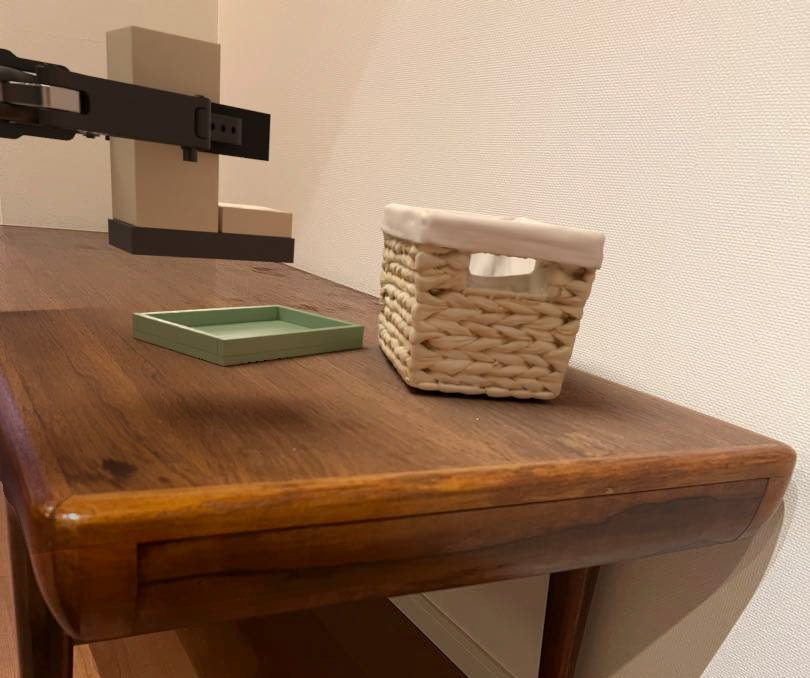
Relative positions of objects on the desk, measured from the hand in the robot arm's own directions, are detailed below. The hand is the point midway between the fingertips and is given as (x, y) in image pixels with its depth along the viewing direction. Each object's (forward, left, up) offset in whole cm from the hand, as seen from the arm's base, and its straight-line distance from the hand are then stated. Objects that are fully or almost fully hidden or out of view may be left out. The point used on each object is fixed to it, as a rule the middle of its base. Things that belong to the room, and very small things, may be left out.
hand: (226, 133), depth 52 cm
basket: (+5, +27, -18) cm, 33 cm away
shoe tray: (-14, +17, -18) cm, 28 cm away
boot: (+1, -3, -7) cm, 8 cm away
